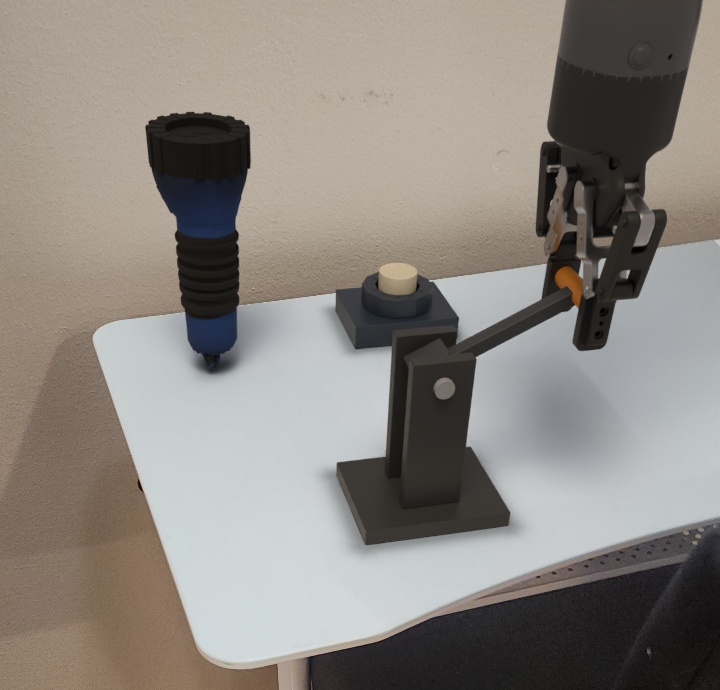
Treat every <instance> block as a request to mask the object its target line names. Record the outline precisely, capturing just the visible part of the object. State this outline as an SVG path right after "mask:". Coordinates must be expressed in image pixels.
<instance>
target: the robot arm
mask: <svg viewBox="0 0 720 690" xmlns="http://www.w3.org/2000/svg"><path fill="white" fill-rule="evenodd" d="M703 3H704V0H565V3H564V8H563V15H562V22H561V28H560V34H559V41H558V42H559V43H558V49H557V53H556V62H555V67H554V75H553V80H552V81H553V82H552V89H551V95H550V101H549V108H548V114H547V121H546V130H547V132H548V134H549V136H550V137H551V138H552V139H553V140H549V141H542V142H541V144H540V145H541V146H540V152H539V164H538V165H539V168H538V182H537V183H538V184H537V197H536V199H537V200H536V212H535V213H536V215H535V234H536V236H537V238H544V242H543V252H544V255H545V256H546V257H548V258H547V262H546V266H545V267H546V268H545V275H544V280H543V286H542V291H541V297H540V300H541V299H543V298H545V297H547V296H549V295H551V294H553V293H555V292H556V291H558V290H560V288H559V287H558V285H557V284H556V283H555V275H556V273H557V271H558V270H559V269H560V268H562V267H565V266H569V267H571V268H572V269H573V270H574V271H575V272H576V273H577V274H578V275H579V276H580V270H581V267H582V279H583V294H581V298H580V304H579V309H578V308H577V314H576V319H575V325H574V329H573V334H572V342H571V343H572V345H573V346H574V348H576V350H577V351H578V352H588V351H597V350H602V349H603V348H605V346H607V343H608V339H609V335H610V329H611V325H612V321H613V317H614V312H615V308H616V304H617V302H618V301H625V300H635V299H638V298H639V296H640V295H641V292H642V289H643V287H644V284H645V282H646V279H647V276H648V273H649V271H650V268H651V266H652V263H653V261H654V258H655V255H656V253H657V250H658V248H659V245H660V243H661V240H662V237H663V235H664V232H665V229H666V227H667V223H668V215H667V211H666V210H665V209H664V208H653V209H650V207H649V206H648V205H647V203H646V201H645V200H644V198H645V194H646V171H647V170H646V169H647V163H648V161H650V159H651V158H652V157H653V156H654V155H656V154H657V153H658V152H661V151H662V150H664V149H665V148H667V147H668V146H669V145H670V143H671V141H672V139H673V136H674V132H675V128H676V123H677V120H678V116H679V115H678V114H679V111H680V106H681V101H682V98H683V94H684V89H685V86H686V82H687V81H686V80H687V77H688V72H689V68H690V64H691V60H692V56H693V51H694V46H695V42H696V37H697V34H698V29H699V26H700V25H699V24H700V21H701V15H702V10H703ZM604 238H612V239H611V243H610V244H599V245H596V244H595V242H594V239H604ZM602 259H605V260H604V263H603V266H602V270H601V273H600V276H599V263H600V261H601V260H602ZM581 265H582V266H581ZM628 271H629V273H628V274H627V272H628ZM572 309H573V307H571V308H569V309H567V310H565V311H564V312H563V313H567V312H569V311H570V310H572Z"/></svg>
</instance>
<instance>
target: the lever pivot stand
mask: <svg viewBox="0 0 720 690" xmlns="http://www.w3.org/2000/svg"><path fill="white" fill-rule="evenodd" d="M458 331H459V330H458ZM458 331H457V330H456V328H455V327H454V325H446V326H435V327H425V328H414V329H403V330H393V337H392V345H391V357H390V371H389V373H390V374H389V390H388V391H389V392H388V406H387V408H388V409H387V425H386V443H385V445H386V446H385V456H378V457H370V458H362V459H354V460H353V459H352V460H345V461H336V477H337V480H338V482H339V485H340V487H341V489H342V492H343V494H344V496H345V499H346V501H347V504H348V506H349V509H350V511H351V514H352V516H353V519H354V521H355V523H356V525H357V528H358V531H359V533H360V535H361V537H362V540H363V542H364V545H365V546H367V545H368V546H369V545H376V544H382V543H383V544H384V543H390V542H398V541H404V540H411V539H421V538H426V537H435V536H440V535H448V534H456V533H464V532H471V531H478V530H486V529H492V528H501V527H508V526H509V523H510V518H511V511H510V509H509V508H508V506H507V504H506V503H505V501H504V499H503V498H502V496H501V494H500V493H499V491H498V489H497V488H496V486H495V484H494V483H493V481H492V479H491V477H490V476H489V475H488V473H487V471H486V470H485V467H484V466H483V465H482V463H481V461H480V459H479V458H478V456H477V455H476V453H475V451H474V450H473V448H472V447H471V446H467V441H468V435H469V434H468V432H469V425H470V417H471V410H472V401H473V393H474V385H475V376H476V368H477V357H475V356H474V355H473V353H461V354H451V355H441V356H431V357H420V358H410V360H409V369H408V366H407V364H406V362H405V360H404V357H405V356H406V355H408V354H410V353H412V352H414V351H416V350H418V349H420V348H422V347H424V346H425V345H427V344H429V343H431V342H433V341H435V340H437V339H439V338H440V339H441V340H442V342H443V343H444V345H445V347H446V348H447V349H448V348H450V347H452V346H454V345H456V344H457V343H458V342H457V341H458V333H457V332H458Z"/></svg>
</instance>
